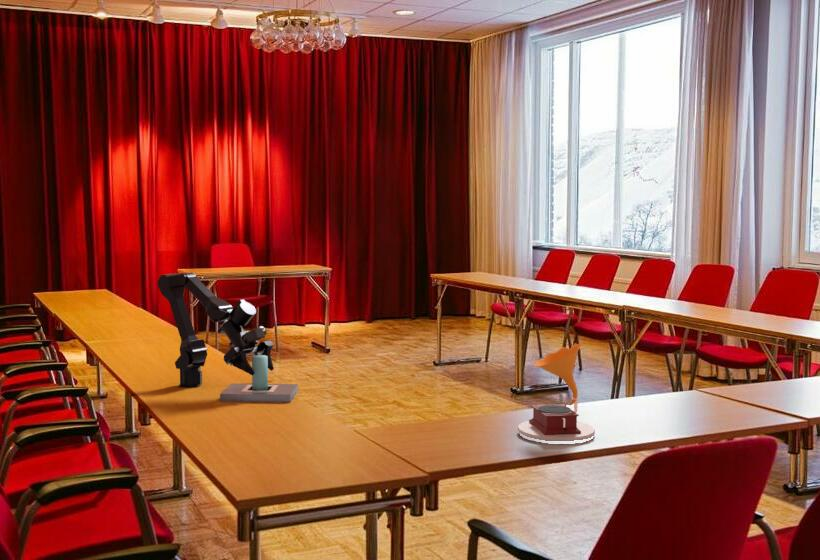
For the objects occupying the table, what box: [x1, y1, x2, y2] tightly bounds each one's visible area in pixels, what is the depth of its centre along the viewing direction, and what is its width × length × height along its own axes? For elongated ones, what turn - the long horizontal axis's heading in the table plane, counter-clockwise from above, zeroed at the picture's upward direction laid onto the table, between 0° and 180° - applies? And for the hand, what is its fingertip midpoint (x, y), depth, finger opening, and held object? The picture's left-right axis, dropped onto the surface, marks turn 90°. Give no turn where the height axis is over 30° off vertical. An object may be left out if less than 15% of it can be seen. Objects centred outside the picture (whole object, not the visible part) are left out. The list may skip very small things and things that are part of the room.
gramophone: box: [517, 342, 596, 441], centre depth 243 cm, size 20×20×25 cm
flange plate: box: [219, 382, 299, 403], centre depth 290 cm, size 22×16×3 cm
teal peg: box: [251, 354, 269, 391], centre depth 289 cm, size 5×5×13 cm
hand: (263, 372), depth 289 cm, fingers open, 9 cm apart
